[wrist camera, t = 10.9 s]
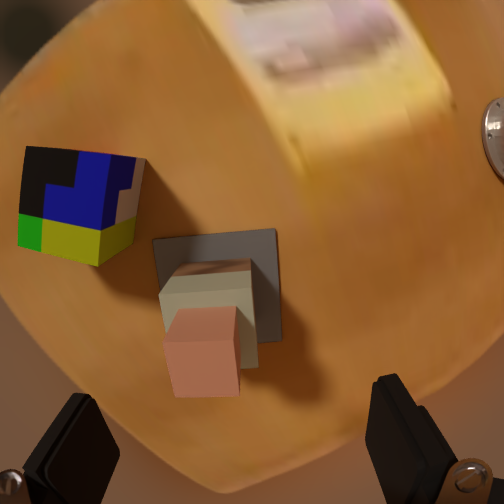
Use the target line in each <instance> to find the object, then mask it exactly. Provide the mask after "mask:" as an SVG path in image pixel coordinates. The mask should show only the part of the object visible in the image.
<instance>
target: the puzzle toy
mask: <svg viewBox="0 0 504 504" xmlns="http://www.w3.org/2000/svg"><path fill="white" fill-rule="evenodd" d="M145 161H146V159H145V158H138V157H130V156H123V155H115V154H108V153H99V152H91V151H82V150H72V149H61V148H48V147H34V146H26V151H25V157H24V164H23V172H22V181H21V191H20V203H19V220H18V246H20V247H24V248H28V249H31V250H35V251H39V252H42V253H46V254H50V255H54V256H58V257H61V258H65V259H69V260H73V261H77V262H81V263H85V264H89V265H93V266H97V267H98V266H100V265H101V264H102V263H104V262H105V261H107V260H108V259H110V258H111V257H113V256H114V255H116V254H118V253H119V252H121V251H122V250H124V249H125V248H127V247H128V246H130V245H131V244H133V239H134V231H135V223H136V216H137V209H138V202H139V196H140V190H141V183H142V178H143V172H144V166H145Z"/></svg>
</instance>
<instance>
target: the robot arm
mask: <svg viewBox="0 0 504 504" xmlns="http://www.w3.org/2000/svg"><path fill="white" fill-rule="evenodd" d="M482 138H483V144H484V148H485V152H486V155H487V157H488V160H489V162H490V164H491V166H492V167H493V169H494V170H495V172H496V173H497V174H498V175H499V176H500V177H501V178H502V179H504V98H498V99H495V100H493V101H492V102H491V103H489V105H488V106H487V108H486V110H485V113H484V116H483V121H482ZM365 441H366V446H367V449H368V452H369V455H370V457H371V460H372V463H373V466H374V468H375V471H376V474H377V476H378V479H379V482H380V485H381V488H382V491H383V494H384V496H385V500H386V502H387V504H504V479H499V478H494V477H493V473H492V469H491V468H490V467H489V465H488V464H486V463H485V462H484V461H482V460H479V459H475V458H468V459H463V460H461V461H458V459H457V458H456V456H455V454H454V453H453V451H452V449H451V448H450V446H449V444H448V443H447V441H446V440H445V438H444V436H443V435H442V433H441V432H440V430H439V428H438V427H437V425H436V424H435V422H434V421H433V419H432V417H431V416H430V414H429V413H428V411H427V410H426V409H425V407H424V406H422V405H421V406H417V405H416V403H415V402H414V400H413V399H412V397H411V395H410V394H409V392H408V391H407V389H406V388H405V386H404V384H403V383H402V381H401V380H400V378H399V377H398V375H397V374H395V373H394V374H389V375H385V376H380V377H379V378H378V380H377V382H373V385H372V393H371V401H370V409H369V416H368V423H367V430H366V436H365ZM119 457H120V451H119V448H118V446H117V444H116V443H115V440H114V438H113V436H112V434H111V432H110V430H109V428H108V426H107V424H106V422H105V420H104V418H103V416H102V414H101V411H100V409H99V407H98V405H97V403H96V401H95V399H93V398H92V397H91V396H90V395H89V394H83V393H74V394H72V396H71V397H70V398H69V400H68V401H67V403H66V404H65V405H64V407H63V408H62V410H61V411H60V412H59V414H58V415H57V417H56V418H55V420H54V421H53V422H52V424H51V425H50V427H49V428H48V430H47V431H46V433H45V434H44V436H43V437H42V439H41V440H40V441H39V443H38V445H37V446H36V447H35V449H34V450H33V452H32V453H31V455H30V456H29V458H28V459H27V461H26V463H25V464H24V466H23V467H22V468H23V469H24V470H25V472H24V474H22V473H21V472H20V471H18V470H15V469H7V470H4V471H2V472H0V504H101V502H102V499H103V497H104V494H105V492H106V489H107V486H108V484H109V481H110V479H111V476H112V474H113V472H114V469H115V467H116V464H117V462H118V460H119Z"/></svg>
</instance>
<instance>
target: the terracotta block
mask: <svg viewBox="0 0 504 504" xmlns="http://www.w3.org/2000/svg"><path fill="white" fill-rule="evenodd" d="M162 343H163V348H164V352H165V357H166V361H167V366H168V370H169V374H170V378H171V382H172V387H173V391H174V395H175V397H230V396H240V373H241V350H240V340H239V330H238V320H237V310H236V306H223V307H205V308H184V309H178V311H177V313H176V315H175V317H174V319H173V321H172V323H171V325H170V327H169V330H168V332H167V334H166V336H165V338H164V340H163V342H162Z"/></svg>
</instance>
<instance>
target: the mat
mask: <svg viewBox="0 0 504 504" xmlns="http://www.w3.org/2000/svg"><path fill="white" fill-rule="evenodd" d="M152 242H153V248H154V255H155V261H156V268H157V274H158V280H159V285H160V291H161V290H162V289H163V287H164V286H165V285H166V283H167V282H168V280H169V279H170V278H171V276H172V275H173V273H174V272H175V271H176V269H177V268H178V266H179V265H180V264H181V263H191V262H203V261H215V260H227V259H239V258H250V259H251V270H252V282H253V293H254V304H255V315H256V329H257V343H265V342H277V341H282V329H281V311H280V294H279V278H278V263H277V249H276V234H275V228H273V229H261V230H250V231H238V232H227V233H216V234H205V235H194V236H184V237H174V238H164V239H154V240H152Z"/></svg>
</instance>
